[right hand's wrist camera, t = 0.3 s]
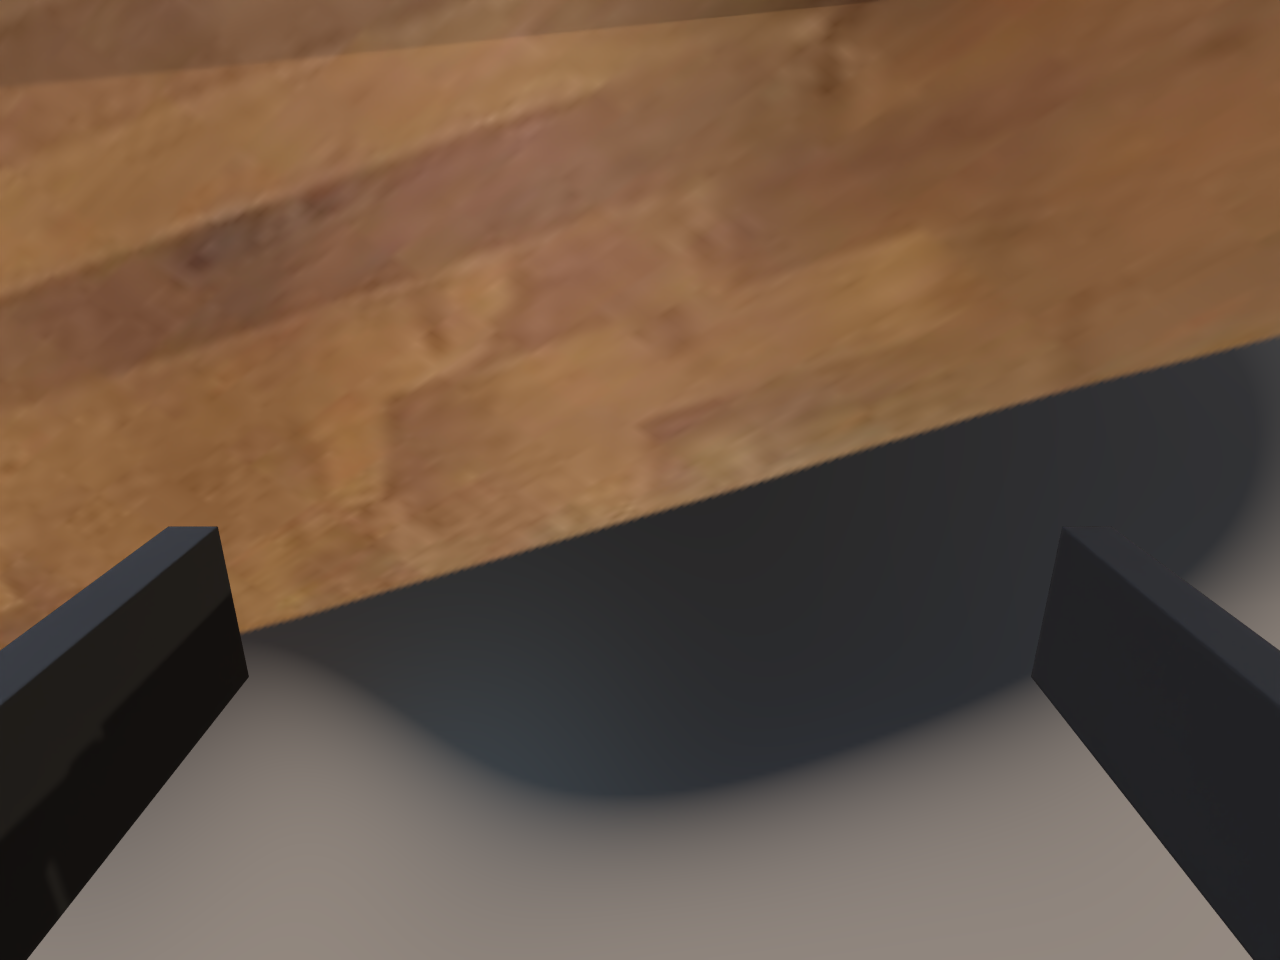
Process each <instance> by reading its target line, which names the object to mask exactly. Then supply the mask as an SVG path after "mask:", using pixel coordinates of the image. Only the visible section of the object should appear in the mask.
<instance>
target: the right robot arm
mask: <svg viewBox="0 0 1280 960" xmlns="http://www.w3.org/2000/svg"><path fill="white" fill-rule="evenodd" d="M248 677H249V675H248V670H247V666H246V661H245V656H244V651H243V646H242V642H241V637H240V632H239V627H238V622H237V617H236V613H235V608H234V603H233V598H232V593H231V589H230V584H229V579H228V574H227V569H226V564H225V560H224V555H223V550H222V545H221V540H220V536H219V531H218V527H167V528H166V529H164V530H163V531H162V532H160V533H159V534H158V535H156V536H155V537H154V538H152V539H151V540H150V541H148V542H147V543H145V544H144V545H143V546H141V547H140V548H139V549H137V550H136V551H135V552H133V553H132V554H131V555H129V556H128V557H127V558H125V559H124V560H122V561H121V562H120V563H118V564H117V565H116V566H114V567H113V568H112V569H110V570H109V571H108V572H106V573H105V574H103V575H102V576H101V577H99V578H98V579H97V580H95V581H94V582H93V583H91V584H90V585H89V586H87V587H86V588H85V589H83V590H82V591H80V592H79V593H78V594H76V595H75V596H74V597H72V598H71V599H70V600H68V601H67V602H66V603H64V604H63V605H61V606H60V607H59V608H57V609H56V610H55V611H53V612H52V613H51V614H49V615H48V616H47V617H45V618H44V619H43V620H41V621H40V622H38V623H37V624H36V625H34V626H33V627H32V628H30V629H29V630H28V631H26V632H25V633H24V634H22V635H21V636H19V637H18V638H17V639H15V640H14V641H13V642H11V643H10V644H9V645H7V646H6V647H5V648H3V649H2V650H1V651H0V960H27V959H28V957H29V956H30V955H31V954H32V952H33V951H34V950H35V948H36V947H37V946H38V945H39V943H40V942H41V941H42V940H43V938H44V937H45V936H46V934H47V933H48V932H49V931H50V929H51V928H52V927H53V926H54V924H55V923H56V922H57V920H58V919H59V918H60V917H61V915H62V914H63V913H64V912H65V910H66V909H67V908H68V906H69V905H70V904H71V903H72V901H73V900H74V899H75V897H76V896H77V895H78V894H79V892H80V891H81V890H82V889H83V887H84V886H85V885H86V883H87V882H88V881H89V880H90V878H91V877H92V876H93V875H94V873H95V872H96V871H97V869H98V868H99V867H100V866H101V864H102V863H103V862H104V861H105V859H106V858H107V857H108V855H109V854H110V853H111V852H112V850H113V849H114V848H115V846H116V845H117V844H118V843H119V841H120V840H121V839H122V838H123V836H124V835H125V834H126V832H127V831H128V830H129V829H130V827H131V826H132V825H133V824H134V822H135V821H136V820H137V819H138V817H139V816H140V815H141V813H142V812H143V811H144V810H145V808H146V807H147V806H148V805H149V803H150V802H151V801H152V799H153V798H154V797H155V796H156V794H157V793H158V792H159V791H160V789H161V788H162V787H163V785H164V784H165V783H166V782H167V780H168V779H169V778H170V776H171V775H172V774H173V773H174V771H175V770H176V769H177V768H178V766H179V765H180V764H181V762H182V761H183V760H184V759H185V757H186V756H187V755H188V754H189V752H190V751H191V750H192V748H193V747H194V746H195V745H196V743H197V742H198V741H199V740H200V738H201V737H202V736H203V734H204V733H205V732H206V731H207V729H208V728H209V727H210V726H211V724H212V723H213V722H214V720H215V719H216V718H217V717H218V715H219V714H220V713H221V712H222V710H223V709H224V708H225V706H226V705H227V704H228V703H229V701H230V700H231V699H232V698H233V696H234V695H235V694H236V692H237V691H238V690H239V689H240V687H241V686H242V685H243V683H244V682H245V681H246V680H247V678H248ZM1031 677H1032V678H1033V680H1034V681H1035V682H1036V684H1037V685H1038V686H1039V687H1040V689H1041V690H1042V691H1043V692H1044V694H1045V695H1046V696H1047V697H1048V699H1049V700H1050V701H1051V703H1052V704H1053V705H1054V706H1055V708H1056V709H1057V710H1058V712H1059V713H1060V714H1061V715H1062V717H1063V718H1064V719H1065V720H1066V722H1067V723H1068V724H1069V726H1070V727H1071V728H1072V729H1073V731H1074V732H1075V733H1076V734H1077V736H1078V737H1079V738H1080V740H1081V741H1082V742H1083V743H1084V745H1085V746H1086V747H1087V748H1088V750H1089V751H1090V752H1091V753H1092V755H1093V756H1094V757H1095V759H1096V760H1097V761H1098V763H1099V764H1100V765H1101V766H1102V768H1103V769H1104V770H1105V771H1106V773H1107V774H1108V775H1109V777H1110V778H1111V779H1112V780H1113V782H1114V783H1115V784H1116V785H1117V787H1118V788H1119V789H1120V791H1121V792H1122V793H1123V794H1124V796H1125V797H1126V798H1127V799H1128V801H1129V802H1130V803H1131V805H1132V806H1133V807H1134V808H1135V810H1136V811H1137V812H1138V813H1139V815H1140V816H1141V817H1142V819H1143V820H1144V821H1145V822H1146V824H1147V825H1148V826H1149V827H1150V829H1151V830H1152V831H1153V833H1154V834H1155V835H1156V836H1157V838H1158V839H1159V840H1160V841H1161V843H1162V844H1163V845H1164V847H1165V848H1166V849H1167V850H1168V852H1169V853H1170V854H1171V855H1172V857H1173V858H1174V859H1175V861H1176V862H1177V863H1178V864H1179V866H1180V867H1181V868H1182V869H1183V871H1184V872H1185V873H1186V875H1187V876H1188V877H1189V878H1190V880H1191V881H1192V882H1193V883H1194V885H1195V886H1196V887H1197V889H1198V890H1199V891H1200V892H1201V894H1202V895H1203V896H1204V898H1205V899H1206V900H1207V901H1208V902H1209V904H1210V905H1211V906H1212V908H1213V909H1214V910H1215V912H1216V913H1217V914H1218V915H1219V916H1220V918H1221V919H1222V920H1223V922H1224V923H1225V924H1226V925H1227V927H1228V928H1229V929H1230V931H1231V932H1232V933H1233V934H1234V936H1235V937H1236V938H1237V940H1238V941H1239V942H1240V943H1241V945H1242V946H1243V947H1244V948H1245V950H1246V951H1247V952H1248V954H1249V955H1250V956H1251V957H1252V959H1253V960H1280V651H1279V650H1278V649H1277V648H1275V647H1274V646H1273V645H1271V644H1270V643H1269V642H1267V641H1266V640H1265V639H1263V638H1262V637H1260V636H1259V635H1258V634H1256V633H1255V632H1254V631H1252V630H1251V629H1250V628H1248V627H1247V626H1246V625H1244V624H1243V623H1242V622H1240V621H1239V620H1237V619H1236V618H1235V617H1233V616H1232V615H1231V614H1229V613H1228V612H1227V611H1225V610H1224V609H1223V608H1221V607H1220V606H1218V605H1217V604H1216V603H1214V602H1213V601H1212V600H1210V599H1209V598H1208V597H1206V596H1205V595H1204V594H1202V593H1201V592H1200V591H1198V590H1197V589H1195V588H1194V587H1193V586H1191V585H1190V584H1189V583H1187V582H1186V581H1185V580H1183V579H1182V578H1180V577H1179V576H1178V575H1176V574H1175V573H1174V572H1172V571H1171V570H1170V569H1168V568H1167V567H1166V566H1164V565H1163V564H1161V563H1160V562H1159V561H1158V560H1156V559H1155V558H1153V557H1152V556H1151V555H1149V554H1148V553H1147V552H1145V551H1144V550H1143V549H1141V548H1140V547H1139V546H1137V545H1136V544H1135V543H1133V542H1132V541H1130V540H1129V539H1128V538H1126V537H1125V536H1124V535H1122V534H1121V533H1120V532H1118V531H1117V530H1116V529H1114V528H1113V527H1062V531H1061V536H1060V540H1059V545H1058V550H1057V555H1056V560H1055V564H1054V569H1053V574H1052V579H1051V584H1050V589H1049V593H1048V598H1047V603H1046V608H1045V613H1044V618H1043V622H1042V627H1041V632H1040V637H1039V642H1038V646H1037V651H1036V656H1035V661H1034V666H1033V671H1032V675H1031Z"/></svg>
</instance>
